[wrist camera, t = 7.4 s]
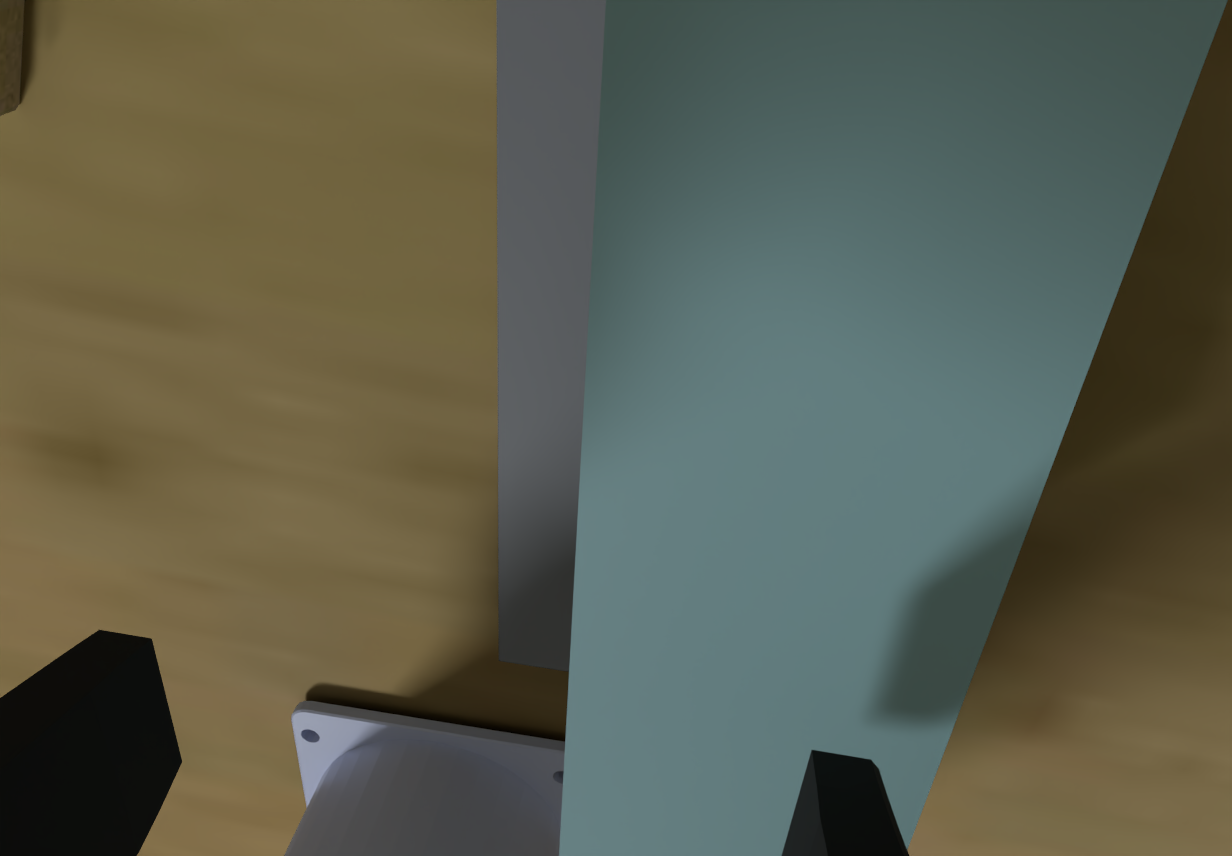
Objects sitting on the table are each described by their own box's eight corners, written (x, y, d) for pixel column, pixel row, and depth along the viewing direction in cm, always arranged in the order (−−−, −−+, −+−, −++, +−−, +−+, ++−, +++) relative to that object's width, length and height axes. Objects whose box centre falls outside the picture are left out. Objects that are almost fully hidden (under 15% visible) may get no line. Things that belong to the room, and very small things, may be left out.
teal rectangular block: (836, 805, 17) (848, 1006, 15) (591, 765, 18) (553, 952, 15) (1095, -56, 10) (1227, 0, 7) (658, -93, 10) (609, -57, 7)
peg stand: (927, 678, 23) (964, 895, 18) (513, 615, 24) (449, 808, 19) (1243, -248, 13) (1490, -281, 9) (521, -297, 14) (393, -351, 9)
